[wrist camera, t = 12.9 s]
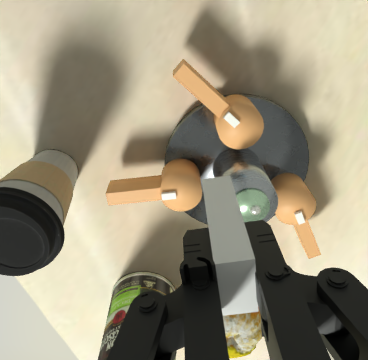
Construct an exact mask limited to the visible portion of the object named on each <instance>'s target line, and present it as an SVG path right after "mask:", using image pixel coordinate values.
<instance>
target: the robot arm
mask: <svg viewBox="0 0 368 360" xmlns="http://www.w3.org/2000/svg"><path fill="white" fill-rule="evenodd" d="M202 185H203V192H204V199H205V206H206V214H207V221H208V228H202V229H195V230H187V232H186V234H185V236H184V237H183V246H184V247H183V248H184V261H183V262H182V263H181V265H180V274H181V279H182V284H181V286H180V287H179V288H178V289H176V290H175V291H173V292H171V293H169V294H166V295H164V296H163V295H162V294H160V293H159V292H155V291H146V292H144V293H141V294H139V295H138V296H137V297H135V298H134V299H133V301H132V302H131V304H130V306H129V309H128V311H127V313H126V316H125V318H124V320H123V323H122V325H121V327H120V330H119V332H118V334H117V337H116V339H115V341H114V343H113V346H112V348H111V350H110V353H109V355H108V357H107V360H175V357H176V350H178V349H180V348H183V347H185V360H229V354H228V348H227V341H226V334H225V328H224V321H223V316H226V315H234V314H243V313H251V312H259V311H258V307H259V310H260V315H261V332H262V337H263V336H264V337H265V341H266V345H267V349H268V353H269V356H270V360H331V359H330V356H329V354H328V352H327V350H328V351H329V353H330V354H331V355H332V357H333V358H334V360H368V289H367V288H366V287H365V286H364V285H363V284H362V283H361V282H360V281H359V280H358V279H357V278H356V277H355V276H354V275H352V274H351V273H349V272H348V271H346V270H343V269H340V268H326V269H324V270H322V271H320V273H319V274H318V276H308V275H303V274H299V273H297V272H295V271H293V270H292V269H291V267H290V266H288V265H287V264H286V262H285V260H284V258H283V255H282V253H281V250H280V248H279V245H278V243H277V241H276V238H275V236H274V234H273V231H272V229H271V226H270V225H269V224H268V223H266V222H265V221H264V220H258V221H250V222H244V220H243V217H242V214H241V210H240V207H239V204H238V201H237V197H236V194H235V191H234V187H233V184H232V181H231V177H230V175H229V176H222V177H214V178H207V179H202Z"/></svg>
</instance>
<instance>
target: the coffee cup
mask: <svg viewBox="0 0 368 360" xmlns="http://www.w3.org/2000/svg"><path fill="white" fill-rule="evenodd" d="M77 177H78V169H77V165H76V163H75V161H74V160H73V159H72V158H71V157H70V156H69V155H67V154H65V153H63V152H60V151H57V150H44V151H41V152H39V153H38V154H37V155H35V156H34V157H33V158H31V159H30V160H29V161H27V162H25V163H23V164H21V165H20V166H18V167H17V168H15V169H14V170H13V171H11V172H10V173H9V174H7V175H6V176H5V177H3V178H2V179H1V180H0V274H1V275H7V276H21V275H26V274H29V273H32V272H34V271H36V270H38V269H41V268H43V267H45V266H46V265H48V264H49V263H51V262H52V261H53V260H54V258H55V257H56V256H57V255H58V254H59V252H60V251H61V249H62V247H63V243H64V228H63V225H64V222H65V219H66V216H67V213H68V209H69V206H70V203H71V200H72V197H73V190H74V186H75V183H76V180H77Z"/></svg>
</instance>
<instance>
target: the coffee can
mask: <svg viewBox="0 0 368 360" xmlns="http://www.w3.org/2000/svg"><path fill="white" fill-rule="evenodd" d="M146 291H155V292H159V293H160V294H162V295H163V296H164V295H166V294H169V293H171V292H173V291H175V288H174V286H173V285H172V284H171V282H170V281H168V280H167V279H166V278H164V277H163V276H161V275H158V274H155V273H151V272H136V273H131V274H128V275H126V276H124V277H123V278H121V279H120V280H119V281H118V282H117V283H116V284H115V286H114V288H113V291H112V298H111V303H110V307H109V312H108V316H107V321H106V326H105V330H104V335H103V339H102V344H101V348H100V353H99V357H98V360H107V357H108V355H109V353H110V350H111V348H112V346H113V343H114V341H115V339H116V337H117V334H118V332H119V330H120V327H121V325H122V323H123V320H124V318H125V316H126V313H127V311H128V309H129V306H130V304H131V302H132V301H133V299H134V298H135V297H137V296H138V295H139V294H141V293H144V292H146ZM175 360H176V357H175Z"/></svg>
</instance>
